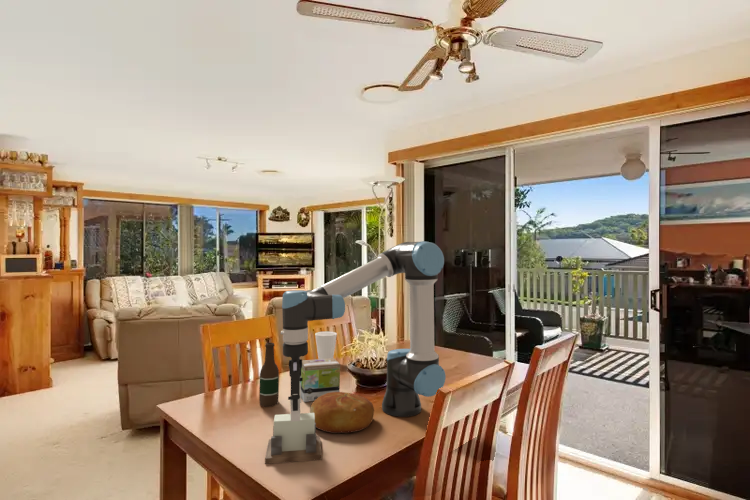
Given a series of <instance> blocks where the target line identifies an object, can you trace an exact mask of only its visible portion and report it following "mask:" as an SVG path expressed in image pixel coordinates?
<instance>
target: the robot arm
mask: <svg viewBox="0 0 750 500" xmlns="http://www.w3.org/2000/svg"><path fill="white" fill-rule="evenodd" d="M444 265H445V257H444V253H443V251H442V250H441V248H440V247H439V246H438V245H437V244H436V243H434V242H429V241H425V240H424V241H422V240H421V241H405V242H401V243H399V244H396V245H395V246H392V247H391V248H388V249H386V250H385V251H383V252H381V253H378V255H377V257H376V258H375V259H372V260H370V261H369V262H367V263H364V264H363V265H361V266H359V267H356V268H355V269H352V270H351V271H348V272H346V273H344V274H342V275H341V276H339V277H337V278H335V279H332V280H330V281H329V282H328V281H327V282H326V283H324V284H322V285H320V286H318V287H316V288H314V289H312V290H310V289H309V290H302V289H301V290H300V289H299V290H298V289H297V290H296V289H295V290H287V291H284V292H283V294H282V301H281V308H282V309H281V310H282V312H281V313H282V314H281V315H282V330H281V331H280V335H282V342H283V343H282V356H284V357H286V358H290V359H289V360H288V369H289V378H290V396H288V397H287V401H288V400H290V414H291V422H292V421H300V413H301V403H302V398H301V382H300V381H303V378H300V377H301V368H302V360H303V359H302V358H301V357H305V356H306V355H308V353H309V342H308V340H309V327H308V322H310V321H311V322H312V321H323V320H335V319H339V318H342V317H343V316H344V315H345V313H346V301H345V300H344V299H345V298H347V297H348V296H351V295H353V294H355V293H357V292H359V291H361V290H362V289H364V288H366V287H368V286H370V285H372V284H374V283H376V282H378V281H380V280H382V279H384V278H386V277H388V278H392V277H393V276H396V275H399V274H404V280H405V281H406V282H407V283H408V285H409V341H410V342H409V343H410V344H409V345H410V346H409V348H397V349H396V348H395V349H392V350H388V352H387V355H386V390H385V393H384V396H383V399H382V403H381V410H382V412H383V413H385V414H387V415H390V416H393V417H394V416H395V417H401V418H403V417H405V418H407V417H412V416H417V415H419V414H420V413H421V412H422V403H421V399H420V396H424V397H427V398H431V397H433V396H435V395H437V394H436V392H437V390H438V389H439V388H441V387H442V388H443V387H444V385H445V383H446V376H447V375H446V372H445V369H444V368H443V367H442V365H440V362H439V361H440V357H439V354H438V353H437V352H436V351H435V301H434V298H435V297H434V295H435V294H434V293H435V292H434V291H435V289H434V288H435V287H434V285H435V283H436V282H437V281H438V278H439V276H438V274H440V273H441V271H442V269H444Z"/></svg>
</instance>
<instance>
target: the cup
mask: <svg viewBox="0 0 750 500" xmlns="http://www.w3.org/2000/svg"><path fill="white" fill-rule="evenodd" d="M314 336H315V343H316V351H317V357H318V358H317V359H330V358H334V356H335V355H334V354H335V349H336V343H337V336H338V333H337V332H335V331H317V332H315V334H314Z"/></svg>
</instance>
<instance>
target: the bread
mask: <svg viewBox="0 0 750 500" xmlns="http://www.w3.org/2000/svg"><path fill="white" fill-rule="evenodd" d="M309 413H314V415H315V423H316V429H318V430H321V431H324V432H327V433H333V434H334V433H335V434H337V433H338V434H342V433H343V434H344V433H347V434H348V433H354V432H358V431H361V430H365V429H366V428H368V427H369V426H370V425H371V423H372V422H373V420H374V419H373V418H374V414H375V407H374V405H373V403H372V402H371V401H370V400H369V399H368V398H367V397H365V396H361V395H360V394H355V393H351V392H344V391H339V392H330V393H326V394H324V395H322V396H320V397H318V398H317V399H316V400H315V401H312V403H311V405H310V410H309Z"/></svg>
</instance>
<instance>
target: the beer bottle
mask: <svg viewBox="0 0 750 500" xmlns="http://www.w3.org/2000/svg"><path fill="white" fill-rule="evenodd" d="M264 347H265V353H264V355H265V357H264V363H263V365H262V367H261V369H260V372H259V395H258V396H259V406H260V407H263V408H264V407H265V408H266V407H274V406H276V405H278V404H279V397H280V396H279V385H280V379H279V377H280V371H279V367H278V365H277V363H276V362H275V349H274V347H275V343H274V342H266V343H265V345H264Z"/></svg>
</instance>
